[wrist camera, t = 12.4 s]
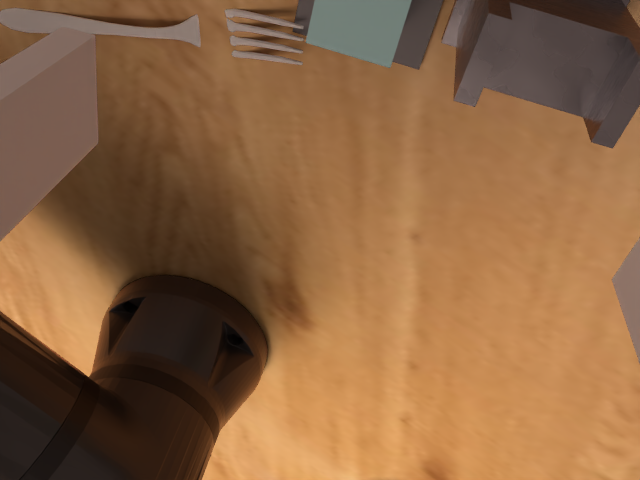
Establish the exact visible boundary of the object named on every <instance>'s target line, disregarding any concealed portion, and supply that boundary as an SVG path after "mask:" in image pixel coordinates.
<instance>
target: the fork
mask: <svg viewBox="0 0 640 480" xmlns="http://www.w3.org/2000/svg"><path fill="white" fill-rule="evenodd" d="M225 14H226V17H227V18H228V17H230V18H232V17H234V16H236V17H243V18H250V19H254V20H259V21H263V22H268V23H273V24H277V25H282V26H288V27H294V28H299V29H303V26H302V25H299V24H296V23H292V22H289V21H286V20H283V19H279V18H275V17H270V16H266V15H262V14H258V13H253V12H249V11H244V10H239V9H226V10H225ZM0 23H1V24H3V25H4V26H6V27H8V28H10V29H12V30H17V31H21V32H26V33H52V32H54V31H56V30H57V29H59V28H61V27H66V28H70V29H73V30H77V31H81V32H85V33H89V34H102V35H120V36H133V37H145V38H160V39H176V40H181V41H185V42H189V43H191V44H193V45H195V46H198V47H200V45H201V42H200V30H199V19H198V16H197V14H196V15H194V16H191V17H190V18H189V19H187V20H185V21H184V22H182V23H180V24H177V25H174V26H168V27H157V28H153V27H138V26H130V25H123V24H116V23H109V22H104V21H98V20H93V19H87V18H82V17H77V16H72V15H67V14H61V13H54V12H47V11H39V10H30V9H22V8H9V9H3V10H2V11H0ZM227 27H228V30H229V31H231V32H235V31H244V32H252V33H258V34H263V35H269V36H274V37H279V38H285V39H292V40H298V41H303V39H304V38H301V37H298V36H294V35H291V34H287V33H284V32H280V31H276V30H271V29H266V28H261V27H256V26H251V25H246V24H241V23H235V22H233V21H232V20H230V21H229V20H228V19H227ZM230 43H231V45H233V46H236V45H248V46H256V47H263V48H269V49H275V50H282V51H288V52H295V53H303V50H299V49H296V48H292V47H289V46H285V45H281V44H276V43H270V42H265V41H260V40H254V39H248V38H239V37H235V36H234V35H233V36H231V37H230ZM232 56H233V57H239V58H251V59H259V60H267V61H275V62H282V63H290V64H297V65H303V62H300V61H296V60H293V59H289V58H285V57H281V56H274V55H268V54H261V53H254V52H247V51H236V50H234V51H233V52H232Z"/></svg>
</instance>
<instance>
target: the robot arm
mask: <svg viewBox="0 0 640 480" xmlns="http://www.w3.org/2000/svg"><path fill="white" fill-rule="evenodd" d="M97 144H98V109H97V75H96V40H95V35H92V34H89V33H85V32H81V31H77V30H73V29H70V28H66V27H61V28H59V29H57V30H56V31H54V32H52V33H51V34H49V35H47V36H46V37H44V38H43V39H41V40H39V41H38V42H36V43H34V44H33V45H31V46H29V47H28V48H26V49H24V50H23V51H21V52H19V53H18V54H16V55H14V56H13V57H11V58H9V59H8V60H6V61H5V62H3V63H1V64H0V241H1V240H2V239H3V238H4V237H5V236H6V235H7V234H8V233H9V232H10V231H11V230H12V229H13V228H14V227H15V226H16V225H17V224H18V223H19V222H20V221H21V220H22V219H23V218H24V217H25V216H26V215H27V214H28V213H29V212H30V211H31V210H32V209H33V208H34V207H35V206H36V205H37V204H38V203H39V202H40V201H41V200H42V199H43V198H44V197H45V196H46V195H47V194H48V193H49V192H50V191H51V190H52V189H53V188H54V187H55V186H56V185H57V184H58V183H59V182H60V181H61V180H62V179H63V178H64V177H65V176H66V175H67V174H68V173H69V172H70V171H71V170H72V169H73V168H74V167H75V166H76V165H77V164H78V163H79V162H80V161H81V160H82V159H83V158H84V157H85V156H86V155H87V154H88V153H89V152H90V151H91V150H92V149H93V148H94V147H95V146H96V145H97ZM612 282H613V285H614V288H615V291H616V294H617V297H618V300H619V303H620V306H621V309H622V312H623V315H624V318H625V321H626V324H627V327H628V330H629V333H630V336H631V339H632V342H633V345H634V348H635V351H636V354H637V357H638V360H639V363H640V238H639V239H638V241H637V242H636V244H635V245H634V247H633V248H632V250H631V251H630V253H629V254H628V256H627V257H626V259H625V260H624V262H623V263H622V265H621V266H620V268H619V269H618V271H617V272H616V274H615V275H614V277H613V278H612ZM266 360H267V344H266V340H265V337H264V334H263V332H262V330H261V328H260V326H259V325H258V323H257V322H256V320H255V319H254V318H253V317H252V315H251V314H250V313H249V312H248V311H247V310H246V309H245V308H244V307H243V306H242V305H240V304H239V303H238V302H237V301H236V300H234V299H233V298H231V297H230V296H228V295H227V294H225V293H224V292H222V291H220V290H218V289H216V288H214V287H212V286H210V285H207V284H205V283H202V282H199V281H196V280H193V279H189V278H184V277H179V276H168V275H159V276H150V277H145V278H142V279H138V280H136V281H134V282H132V283H130V284H128V285H127V286H126V287H124V288H123V289H122V290H121V291H120V292H119V294H118V295H117V296H116V298H115V299H114V301H113V302H112V304H111V305H110V307H109V308H108V310H107V312H106V314H105V316H104V319H103V322H102V326H101V331H100V335H99V340H98V345H97V350H96V355H95V359H94V364H93V369H92V373H91V375H90V376H89V377H88V376H86V375H85V374H84V373H83V372H81V371H80V370H79V369H77V368H76V367H74V366H73V365H72V364H70V363H69V362H68V361H66V360H65V359H64V358H62V357H61V356H60V355H58V354H57V353H56V352H54V351H53V350H52V349H50V348H49V347H48V346H46V345H45V344H43V343H42V342H41V341H39V340H38V339H37V338H35V337H34V336H33V335H31V334H30V333H29V332H27V331H26V330H25V329H23V328H22V327H21V326H19V325H18V324H17V323H15V322H14V321H12V320H11V319H10V318H8V317H7V316H6V315H4V314H3V313H2V312H1V311H0V480H202V477H203V475H204V472H205V469H206V467H207V464H208V461H209V459H210V456H211V453H212V450H213V447H214V445H215V442H216V440H217V437H218V435H219V432H220V430H221V429H222V428H223V426H224V425H225V424H226V423H227V422H228V420H229V419H230V418H231V417H232V416H233V415H234V413H235V412H236V411H237V410H238V409H239V408H240V406H241V405H242V404H243V403H244V402H245V401H246V399H247V398H248V397H249V396H250V395H251V394H252V392H253V391H254V390H255V388H256V387H257V385H258V383H259V381H260V378H261V375H262V373H263V370H264V367H265V364H266Z"/></svg>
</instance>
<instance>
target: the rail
mask: <svg viewBox="0 0 640 480" xmlns="http://www.w3.org/2000/svg"><path fill="white" fill-rule="evenodd" d="M411 1H412V0H315V1H314V6H313V10H312V15H311V20H310V24H309V29H308V34H307V38H306V43H308V44H312V45H315V46H318V47H322V48H325V49H328V50H331V51H335V52H338V53H341V54H345V55H348V56H351V57H355V58H358V59H361V60H365V61H368V62H371V63H375V64H378V65H381V66H385V67H388V68H390V67H391V64H392V61H393V58H394V55H395V51H396V48H397V45H398V42H399V39H400V36H401V32H402V29H403V26H404V23H405V20H406V17H407V13H408V10H409V7H410V4H411Z"/></svg>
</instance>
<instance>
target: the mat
mask: <svg viewBox="0 0 640 480" xmlns="http://www.w3.org/2000/svg"><path fill="white" fill-rule="evenodd" d="M314 1H315V0H299V2H298V7H297V12H296V17H295V22H294V23H296V24H299V25H302V26H303V29H299V28H294V27H293V32H295V33H299V34H302V35H305V36H307V34H308V29H309V24H310V20H311V15H312V10H313V6H314ZM442 2H443V0H412V1H411V4H410V7H409V10H408V13H407V17H406V20H405V23H404V26H403V29H402V32H401V36H400V39H399V42H398V45H397V48H396V51H395V55H394V58H393V61H392V62H395V63H398V64H402V65H405V66H408V67H412V68H415V69H418V70H419V68H420V65H421V63H422V60H423V57H424V54H425V51H426V48H427V45H428V42H429V40H430V37H431V34H432V31H433V28H434V25H435V22H436V20H437V17H438V14H439V11H440V8H441V5H442Z"/></svg>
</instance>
